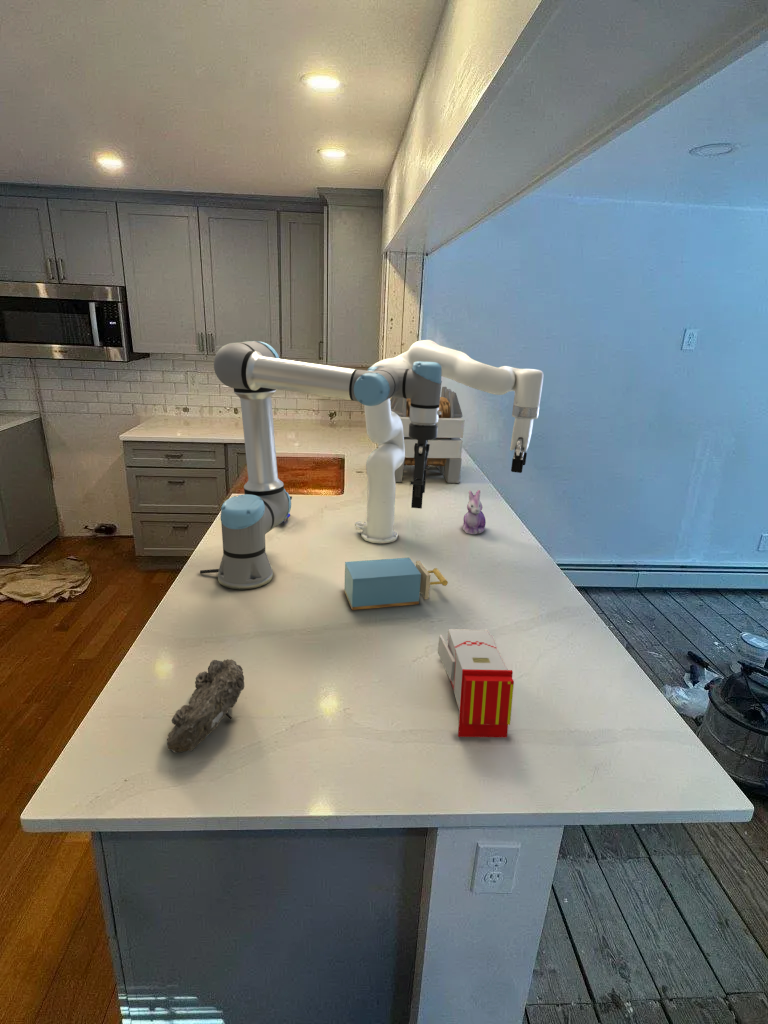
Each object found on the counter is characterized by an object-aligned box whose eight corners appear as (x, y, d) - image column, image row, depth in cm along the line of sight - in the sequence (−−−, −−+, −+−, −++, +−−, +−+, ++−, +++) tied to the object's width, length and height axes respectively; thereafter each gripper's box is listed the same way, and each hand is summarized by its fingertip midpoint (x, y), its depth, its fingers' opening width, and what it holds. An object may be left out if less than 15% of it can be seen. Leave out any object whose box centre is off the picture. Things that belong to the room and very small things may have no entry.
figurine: (471, 536, 200) (475, 496, 195) (454, 527, 208) (458, 488, 203) (492, 533, 204) (497, 493, 199) (475, 523, 212) (479, 485, 207)
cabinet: (407, 586, 163) (409, 557, 160) (418, 604, 153) (421, 573, 150) (344, 591, 158) (344, 561, 155) (351, 610, 148) (352, 579, 145)
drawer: (436, 581, 164) (438, 559, 161) (447, 597, 155) (449, 573, 153) (359, 588, 158) (360, 564, 156) (366, 604, 150) (367, 580, 147)
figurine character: (287, 531, 201) (293, 512, 215) (287, 512, 198) (292, 494, 211) (268, 530, 201) (275, 511, 214) (267, 511, 198) (274, 493, 211)
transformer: (382, 463, 289) (386, 382, 275) (445, 464, 293) (451, 384, 279) (390, 482, 257) (394, 392, 243) (460, 483, 261) (468, 394, 247)
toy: (488, 613, 130) (523, 677, 101) (484, 667, 133) (517, 744, 104) (435, 612, 130) (455, 676, 101) (432, 666, 133) (451, 743, 103)
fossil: (192, 660, 117) (244, 628, 112) (224, 691, 120) (276, 661, 115) (142, 746, 98) (202, 712, 93) (182, 779, 101) (242, 748, 96)
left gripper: (436, 433, 136) (429, 516, 143) (439, 415, 160) (433, 487, 167) (405, 431, 137) (400, 513, 144) (412, 413, 160) (408, 485, 168)
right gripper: (515, 406, 176) (509, 460, 182) (508, 415, 161) (502, 473, 166) (540, 409, 174) (533, 463, 180) (536, 418, 158) (528, 477, 164)
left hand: (418, 499), depth 156 cm, fingers open, 13 cm apart
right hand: (518, 468), depth 173 cm, fingers open, 9 cm apart
